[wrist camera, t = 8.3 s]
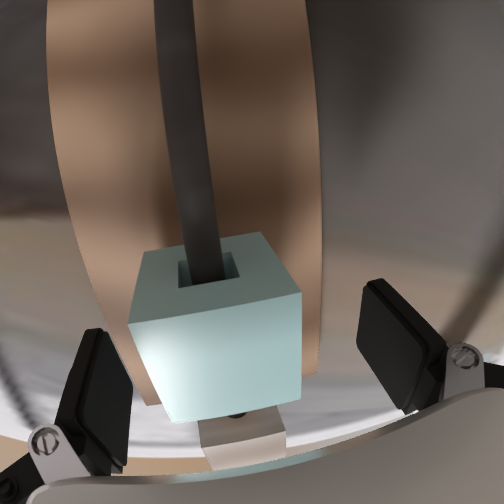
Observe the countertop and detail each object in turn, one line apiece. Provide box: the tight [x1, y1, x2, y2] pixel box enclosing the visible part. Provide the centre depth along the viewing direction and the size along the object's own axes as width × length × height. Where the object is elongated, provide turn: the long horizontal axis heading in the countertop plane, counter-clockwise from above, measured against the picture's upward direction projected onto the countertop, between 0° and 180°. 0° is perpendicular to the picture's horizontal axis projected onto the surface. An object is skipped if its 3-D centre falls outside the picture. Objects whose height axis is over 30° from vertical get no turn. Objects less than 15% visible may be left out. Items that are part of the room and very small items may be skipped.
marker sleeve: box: [127, 232, 302, 424], centre depth 12 cm, size 5×5×5 cm
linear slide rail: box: [46, 0, 322, 471], centre depth 11 cm, size 27×12×8 cm, turn 5°
